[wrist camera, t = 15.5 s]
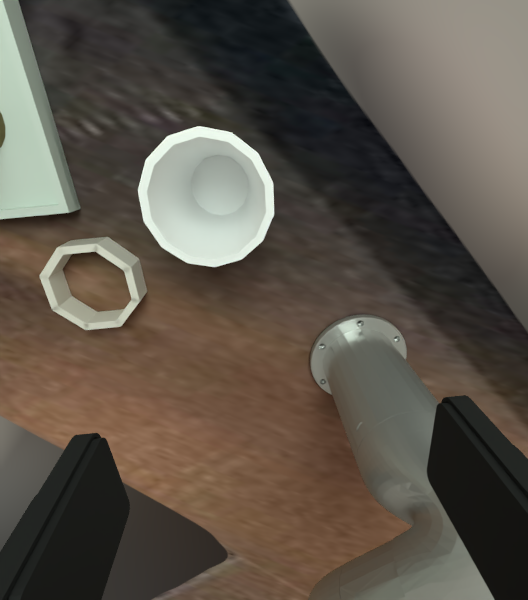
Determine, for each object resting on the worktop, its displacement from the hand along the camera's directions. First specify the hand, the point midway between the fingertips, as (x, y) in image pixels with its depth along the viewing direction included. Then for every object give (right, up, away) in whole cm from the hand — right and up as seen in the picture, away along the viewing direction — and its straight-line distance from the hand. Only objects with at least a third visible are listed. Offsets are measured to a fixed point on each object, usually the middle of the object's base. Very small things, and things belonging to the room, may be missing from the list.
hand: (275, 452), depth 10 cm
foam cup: (-5, +17, +26) cm, 31 cm away
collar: (-19, +7, +29) cm, 35 cm away
